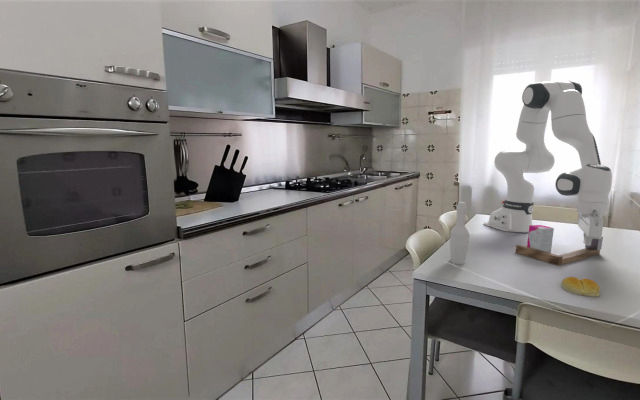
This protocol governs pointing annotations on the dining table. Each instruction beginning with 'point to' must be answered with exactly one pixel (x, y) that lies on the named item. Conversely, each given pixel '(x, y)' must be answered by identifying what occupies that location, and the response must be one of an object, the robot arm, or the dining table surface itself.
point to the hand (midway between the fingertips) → (586, 244)
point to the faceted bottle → (459, 236)
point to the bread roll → (581, 286)
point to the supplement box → (540, 237)
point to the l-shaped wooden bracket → (563, 258)
